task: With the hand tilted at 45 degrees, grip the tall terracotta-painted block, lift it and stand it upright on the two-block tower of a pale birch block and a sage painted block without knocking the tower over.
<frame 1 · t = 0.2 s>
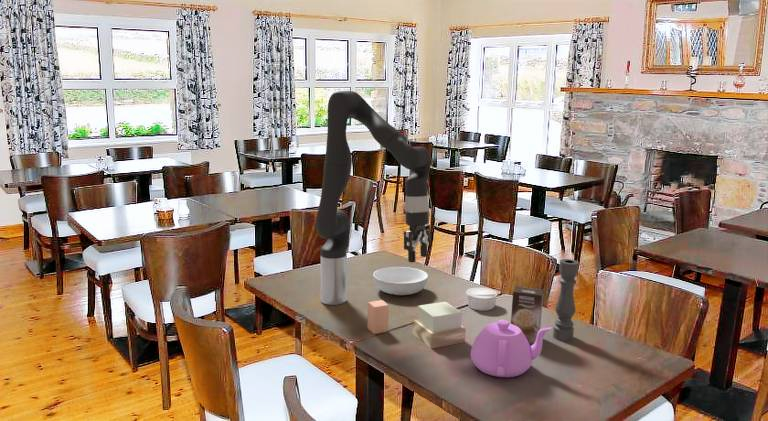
hand: (418, 259, 201), 23 cm above the table, tool pointing down, fingers open, 8 cm apart
teapot: (508, 369, 177), on the table
candle holder: (562, 337, 198), on the table
ramekin: (481, 306, 224), on the table
coffee box: (524, 338, 197), on the table
terracotta block: (377, 329, 202), on the table
serving bowl: (400, 292, 238), on the table
tower base block: (438, 338, 196), on the table, touching tower top block
tower top block: (439, 324, 195), point 5 cm above the table, touching tower base block
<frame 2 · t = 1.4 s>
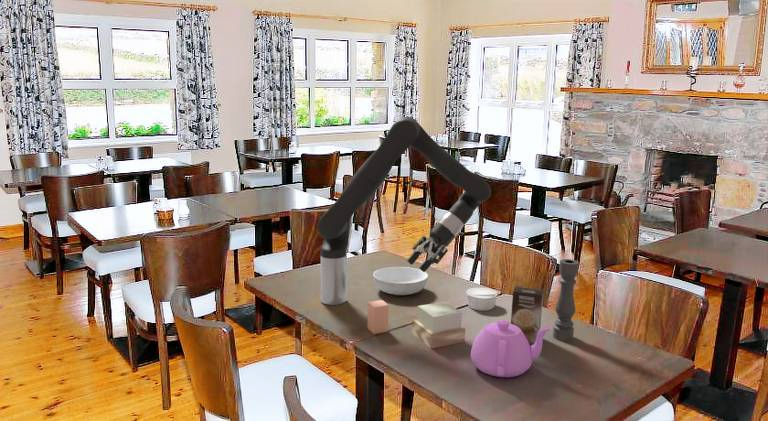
hand: (415, 266, 203), 20 cm above the table, tool tilted 45°, fingers open, 8 cm apart
nothing on the table moved.
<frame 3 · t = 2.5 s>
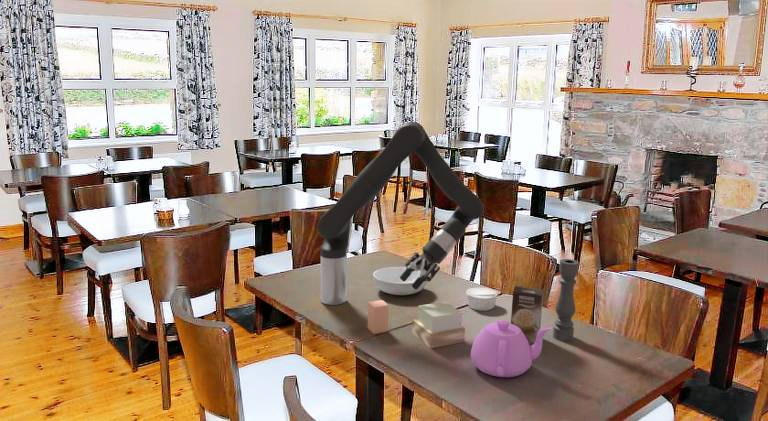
hand: (407, 283, 203), 14 cm above the table, tool tilted 45°, fingers open, 8 cm apart
nothing on the table moved.
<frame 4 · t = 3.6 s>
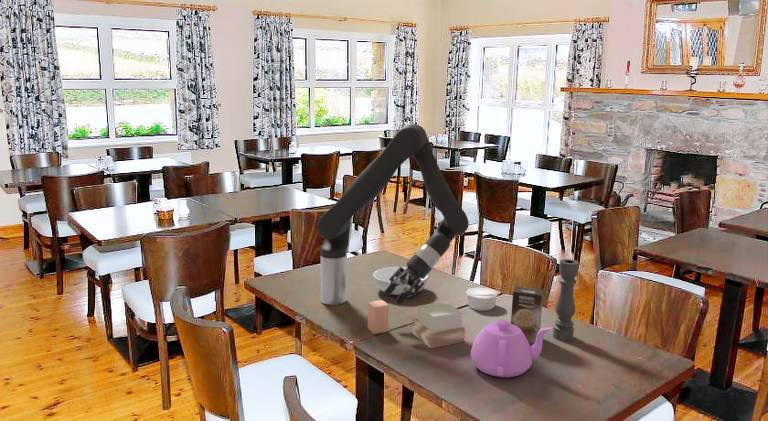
hand: (391, 298, 201), 10 cm above the table, tool tilted 45°, fingers open, 8 cm apart
nothing on the table moved.
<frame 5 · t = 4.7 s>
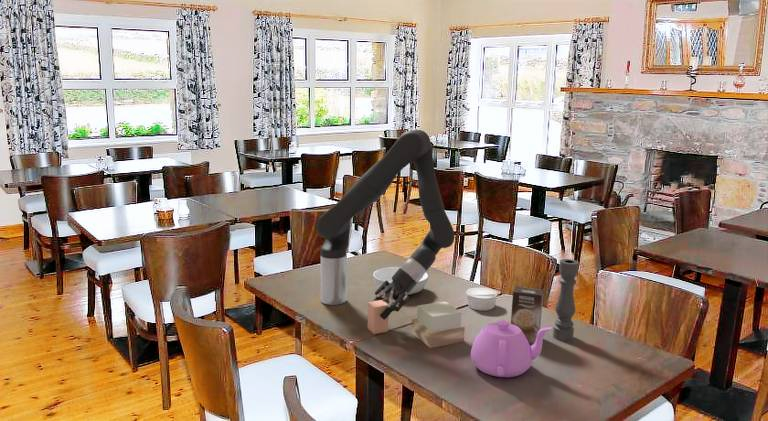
hand: (376, 313, 200), 6 cm above the table, tool tilted 45°, fingers open, 8 cm apart
tower base block: (437, 338, 197), on the table
tower top block: (438, 323, 195), point 5 cm above the table
everything else where it was.
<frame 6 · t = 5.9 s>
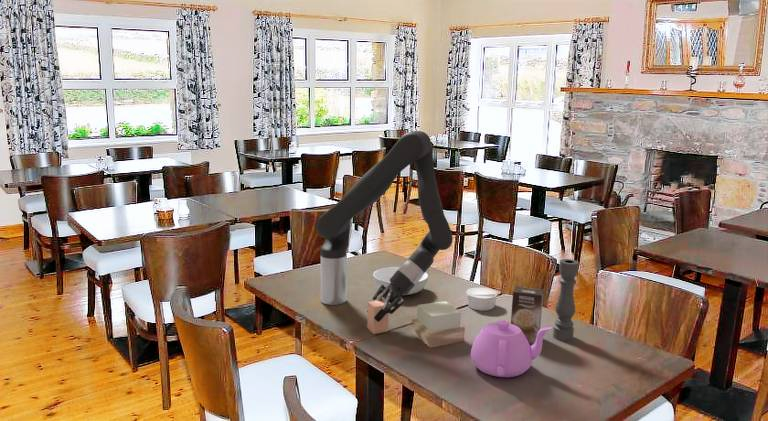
hand: (372, 316, 200), 5 cm above the table, tool tilted 45°, fingers closed on terracotta block, 5 cm apart
terracotta block: (377, 329, 201), on the table, touching gripper
tower base block: (437, 338, 197), on the table, touching tower top block
tower top block: (438, 323, 196), point 5 cm above the table, touching tower base block
everything else where it was.
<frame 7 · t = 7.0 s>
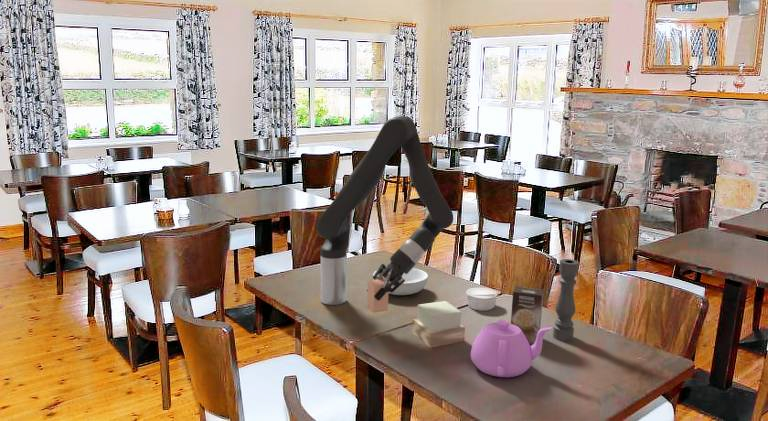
hand: (372, 295, 198), 12 cm above the table, tool tilted 45°, fingers closed on terracotta block, 5 cm apart
terracotta block: (377, 308, 200), point 7 cm above the table, touching gripper
everything else where it was.
when the fingers open (16 cm above the table, at t = 12.1 s): terracotta block drops 2 cm, resting on tower top block.
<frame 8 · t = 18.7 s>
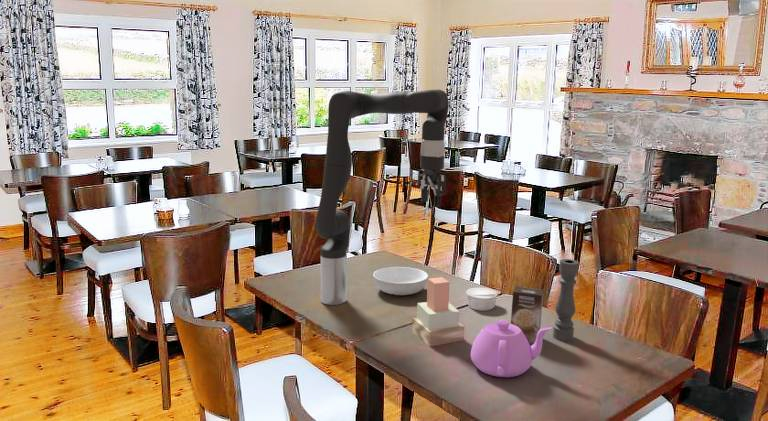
hand: (430, 204, 200), 40 cm above the table, tool pointing down, fingers open, 8 cm apart
terracotta block: (437, 307, 195), point 10 cm above the table, touching tower top block
tower top block: (437, 322, 197), point 5 cm above the table, touching terracotta block, tower base block
everything else where it was.
at the end: terracotta block inside the target area on the tower top block (0.8 cm from its centre), point 5.0 cm above the tower top block's base; terracotta block tilted 0°; tower top block 0.4 cm off-centre on the tower base block, point 5.0 cm above the tower base block's base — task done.
